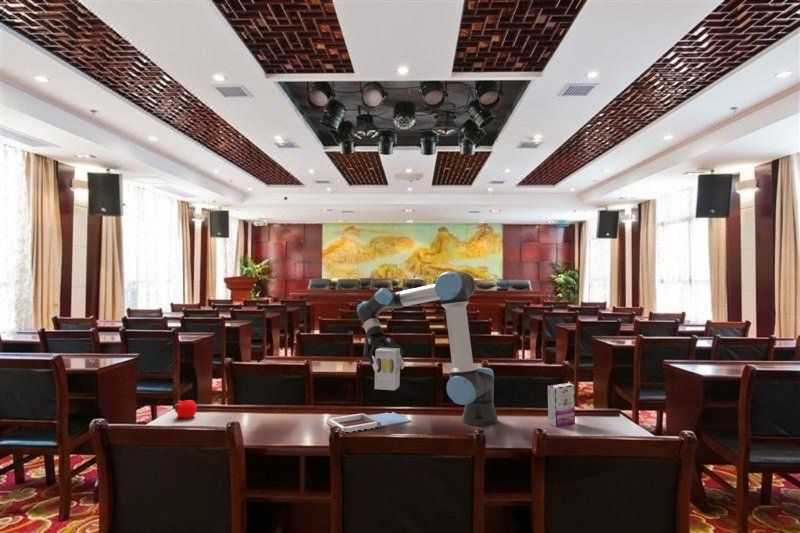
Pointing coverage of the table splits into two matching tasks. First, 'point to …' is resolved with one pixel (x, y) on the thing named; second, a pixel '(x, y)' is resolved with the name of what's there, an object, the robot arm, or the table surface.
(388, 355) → the supplement box
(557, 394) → the candy bar box
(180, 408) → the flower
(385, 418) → the bay rack
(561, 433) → the table surface
